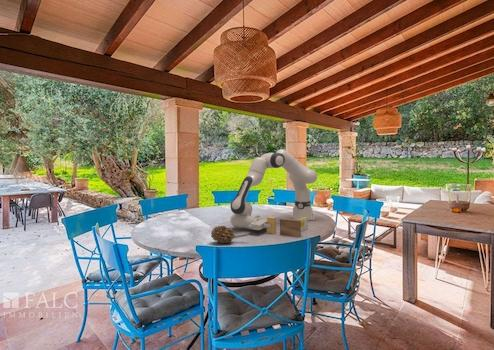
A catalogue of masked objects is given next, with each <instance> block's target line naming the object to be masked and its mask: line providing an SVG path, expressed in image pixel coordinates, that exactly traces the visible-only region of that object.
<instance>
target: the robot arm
mask: <svg viewBox="0 0 494 350" xmlns="http://www.w3.org/2000/svg"><path fill="white" fill-rule="evenodd" d="M281 167H282V168H283V169H284V170H285V171H286V172H287V173H288V177H289V178H288V179H290V181H291V182H292V185H293V187H294V193H295V195H294V197H295V200H294V206H293V207H292V215H291V216H290V219H295V220H299V219H302V218H304V217H307V221H315V219H316V215H315V214H314V213H313V211H314V210H313V208H312V205H311V203H312V200H311V190H310V189H309V188H308V187H307V184H308V185H309V184H314V183H315V182H317V180H318V174H317V172H316V171H315V170H314V169H311V168H309V167H307V166H306V165H304V164H303V163H301V161H298V160H297V158H295V157H294V156H293V155H292V154H291V153H290V152H289V151H287V150H286V149H283V148H281V149H278V150H277V151H276V152H265V153H262V154H261V155H259V156H257V157H255V158H254V159H253V160H252V162H251V164H250V166H249V168H248V172H247V174H246V176H245V177H244V178H243V180H242V183H241V185H240V186H239V189H238V190H237V193H236V196H235V197H234V199H233V200H232V201H231V202H230V210H231V212H232V214H231V215H230V224H231V225H232V226H233V227H234V228H239V229H247V230H254V231H261V230H263V229H265V228H267V227H272V224H267V217H268V216H267V217H266V216H261V215H252V213H253V206H252V204H251V203H250V202H248V201H246V198H247V196H248V193H249V191H250V189H251V188H253V187H254V186H258V185H260V184H261V183H262V181H263V179H264V176H265V173H266V171H267V169H279V168H281Z"/></svg>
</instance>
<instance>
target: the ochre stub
mask: <svg viewBox="0 0 494 350" xmlns="http://www.w3.org/2000/svg"><path fill="white" fill-rule="evenodd" d="M267 224H272V227H266V234H274V235H275V234H276V233H277V217H275V216H267Z"/></svg>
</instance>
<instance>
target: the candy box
mask: <svg viewBox="0 0 494 350" xmlns="http://www.w3.org/2000/svg"><path fill="white" fill-rule="evenodd" d="M299 220H301V233H302V232H304V231H306V230H308V226H309V224H308V220H307V217H304V218H302V219H299Z"/></svg>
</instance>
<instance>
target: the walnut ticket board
mask: <svg viewBox="0 0 494 350" xmlns="http://www.w3.org/2000/svg"><path fill="white" fill-rule="evenodd" d="M279 235H280V236H285V237H286V236H287V237H292V238H300V237H301V236H302V232H301V220H295V219H293V218H284V217H282V218H280V219H279Z"/></svg>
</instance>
